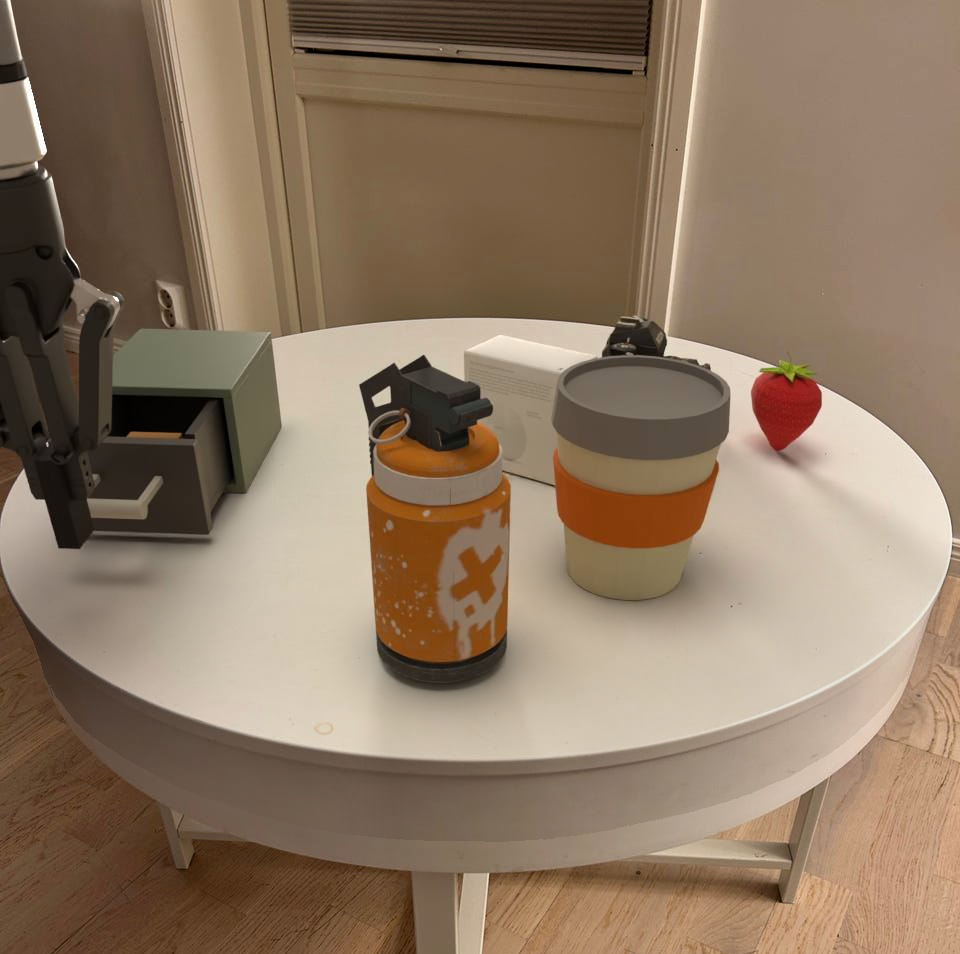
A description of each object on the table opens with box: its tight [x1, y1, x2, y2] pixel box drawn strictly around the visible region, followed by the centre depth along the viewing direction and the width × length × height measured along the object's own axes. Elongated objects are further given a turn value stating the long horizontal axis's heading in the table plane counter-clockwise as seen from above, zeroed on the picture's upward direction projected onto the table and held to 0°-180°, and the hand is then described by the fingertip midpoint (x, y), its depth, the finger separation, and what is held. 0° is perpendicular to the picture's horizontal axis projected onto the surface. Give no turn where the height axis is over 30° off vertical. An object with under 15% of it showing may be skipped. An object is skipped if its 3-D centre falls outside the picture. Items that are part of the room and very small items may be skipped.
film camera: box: [601, 315, 712, 371], centre depth 99 cm, size 18×12×10 cm
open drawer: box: [46, 395, 234, 536], centre depth 81 cm, size 19×11×8 cm, turn 177°
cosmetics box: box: [463, 334, 598, 486], centre depth 91 cm, size 10×6×10 cm, turn 57°
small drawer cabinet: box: [112, 328, 283, 494], centre depth 92 cm, size 15×13×10 cm
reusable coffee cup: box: [551, 355, 731, 601], centre depth 74 cm, size 13×13×15 cm
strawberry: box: [750, 348, 823, 452], centre depth 93 cm, size 6×8×10 cm
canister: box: [358, 354, 512, 684], centre depth 64 cm, size 9×11×20 cm
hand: (76, 538), depth 69 cm, fingers closed
